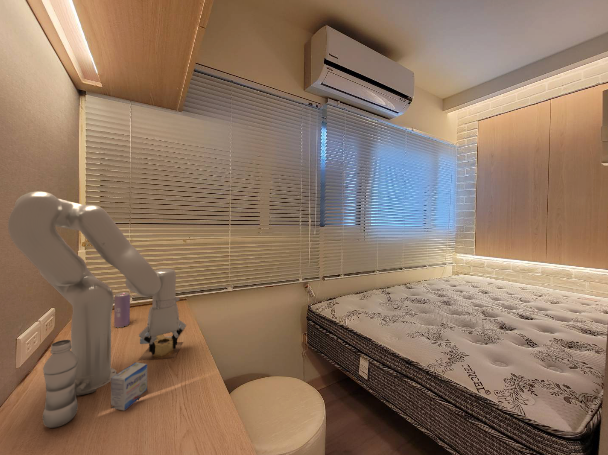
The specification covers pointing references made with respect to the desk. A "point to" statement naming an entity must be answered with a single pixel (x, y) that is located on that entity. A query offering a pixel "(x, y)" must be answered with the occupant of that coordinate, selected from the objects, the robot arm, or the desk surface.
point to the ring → (163, 346)
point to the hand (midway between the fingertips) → (163, 349)
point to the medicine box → (128, 386)
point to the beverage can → (121, 309)
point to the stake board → (149, 356)
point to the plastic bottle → (60, 385)
